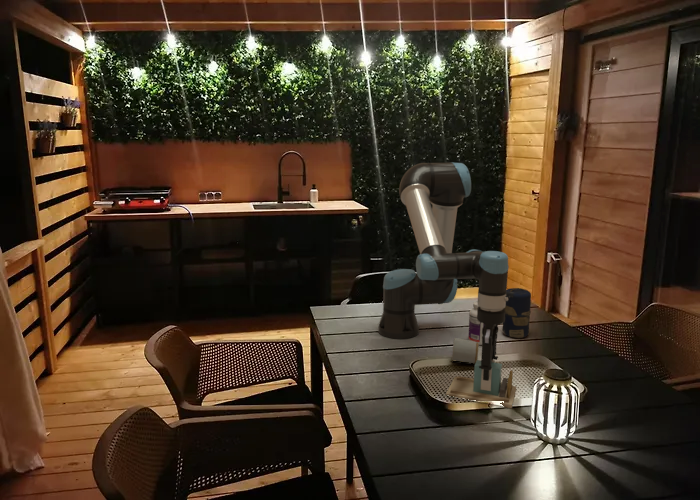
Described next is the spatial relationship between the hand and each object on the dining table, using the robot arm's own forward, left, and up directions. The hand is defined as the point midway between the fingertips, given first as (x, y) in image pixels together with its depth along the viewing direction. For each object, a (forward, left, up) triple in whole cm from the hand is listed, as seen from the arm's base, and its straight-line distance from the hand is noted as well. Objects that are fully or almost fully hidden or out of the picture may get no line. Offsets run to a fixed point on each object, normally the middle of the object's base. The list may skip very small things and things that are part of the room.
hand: (487, 385), depth 158 cm
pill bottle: (-8, +40, -3) cm, 41 cm away
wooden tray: (-1, 0, -3) cm, 3 cm away
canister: (+3, +52, -3) cm, 52 cm away
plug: (0, 0, -2) cm, 2 cm away
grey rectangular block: (-11, +22, -3) cm, 25 cm away
